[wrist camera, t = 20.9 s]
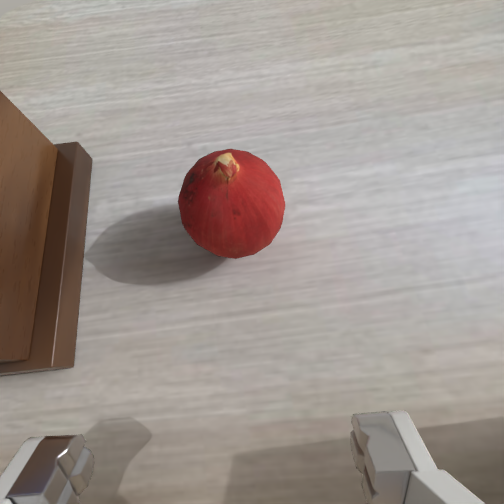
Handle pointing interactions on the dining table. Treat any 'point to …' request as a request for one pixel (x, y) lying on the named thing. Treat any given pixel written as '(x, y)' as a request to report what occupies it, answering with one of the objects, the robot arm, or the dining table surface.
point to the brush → (39, 244)
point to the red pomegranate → (231, 203)
